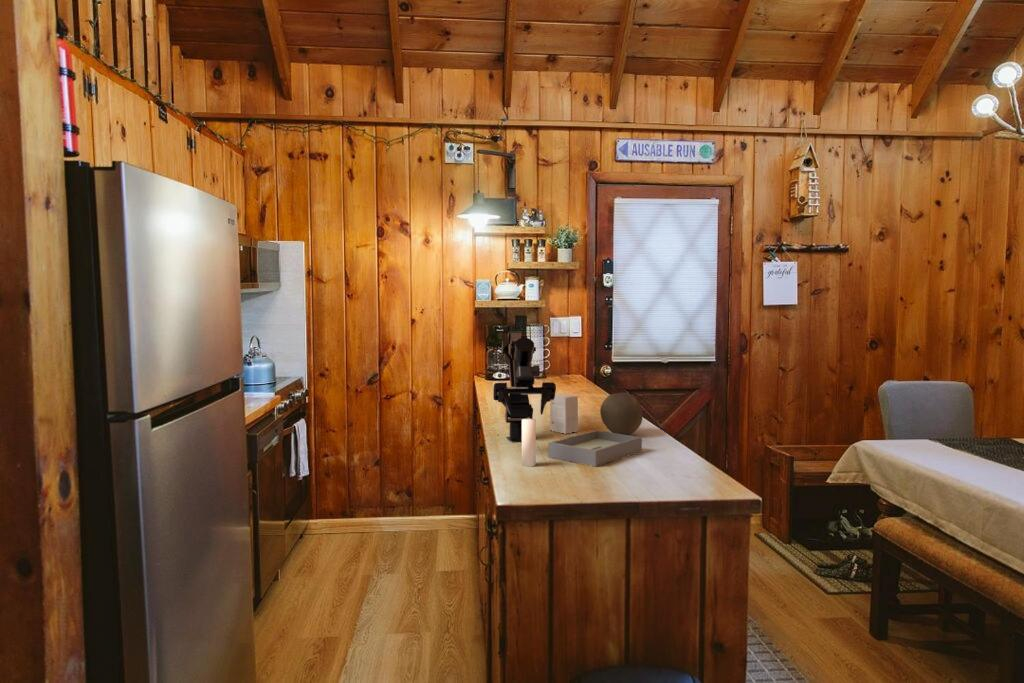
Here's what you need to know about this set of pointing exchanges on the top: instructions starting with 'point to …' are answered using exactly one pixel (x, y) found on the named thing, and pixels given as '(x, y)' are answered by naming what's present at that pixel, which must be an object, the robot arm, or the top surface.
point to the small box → (564, 413)
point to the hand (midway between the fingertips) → (526, 414)
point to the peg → (528, 442)
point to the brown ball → (621, 413)
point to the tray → (594, 447)
